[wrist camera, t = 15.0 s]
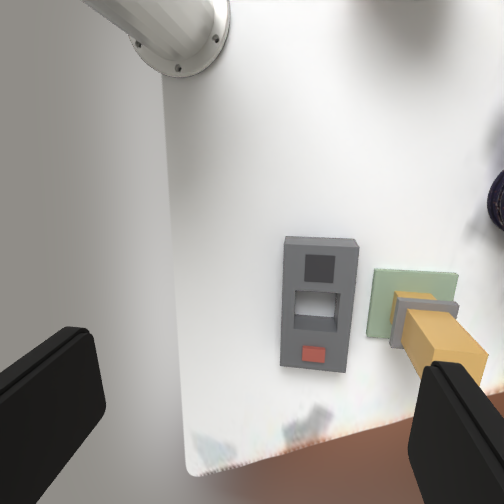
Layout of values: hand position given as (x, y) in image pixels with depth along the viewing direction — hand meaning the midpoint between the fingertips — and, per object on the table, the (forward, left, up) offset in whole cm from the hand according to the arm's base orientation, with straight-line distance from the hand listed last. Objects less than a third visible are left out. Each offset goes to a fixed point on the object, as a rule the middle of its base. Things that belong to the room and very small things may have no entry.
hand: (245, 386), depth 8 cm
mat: (+13, +16, -33) cm, 39 cm away
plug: (+13, +16, -32) cm, 38 cm away
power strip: (+13, +4, -33) cm, 36 cm away
